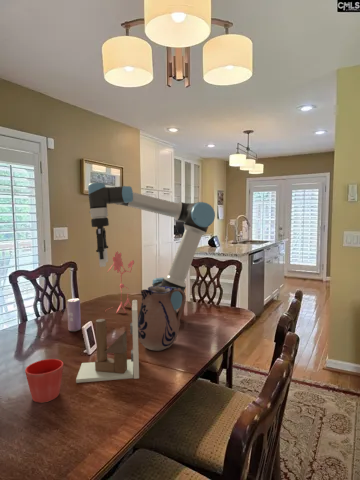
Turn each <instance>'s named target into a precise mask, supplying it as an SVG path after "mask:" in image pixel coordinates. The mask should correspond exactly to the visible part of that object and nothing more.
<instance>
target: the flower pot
mask: <svg viewBox="0 0 360 480" xmlns="http://www.w3.org/2000/svg"><path fill="white" fill-rule="evenodd" d="M63 371H64V362H63V361H62V360H60V359H58V358H47V359H41V360H38V361H35V362H33V363H30V364H29V365H27V366H26V367H25V370H24V373H25V377H26V380H27V384H28V389H29V392H30V395H31V397H32V401H33V402H35V403H38V404H39V403H42V404H43V403H48V402H50V401H53V400H55V399H56V398H58V396H60V390H61V386H62V380H63V379H62V378H63Z"/></svg>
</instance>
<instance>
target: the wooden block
mask: <svg viewBox="0 0 360 480" xmlns="http://www.w3.org/2000/svg"><path fill="white" fill-rule="evenodd" d="M107 338H108V337H107V319H105V318H98V319H96V320H95V341H96V342H95V343H96V360H95V361H94V362H95V371H101V372H112V373H114V372H115V373H122V374H123V373H125V371H126V370H127V360H128V355H127V353H128V349H127V347H128V345H127V330H125V331H123V333H122V334H121V335H120V336H119V337H117V339H116V340H115V341H114V342H113V343H112V344H111V345H110V346H109V347H108V342H107V341H108V340H107ZM108 353H109V354H113V358H112V357H111V358H110V357H108Z"/></svg>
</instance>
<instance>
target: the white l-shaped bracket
mask: <svg viewBox="0 0 360 480" xmlns="http://www.w3.org/2000/svg"><path fill="white" fill-rule="evenodd" d="M131 306H132V308H131V320H132V321H131V322H130V325H129V326H130V327H129V328H130V335H132V349H131V350H130V359H127V370H126V371H125V373H123V374H122V373H115V372H114V373H112V372H101V371H95V361H93V362H92V361H90V362H82V363H81V365H80V367H79V370H78V373H77V375H76V379H75V383H76V384H80V383H90V382H91V383H93V382H100V381H102V382H103V381H112V380H116V381H117V380H127V379H135V380H136V379H140V362H139V359H140V358H139V356H140V355H139V339H138V317H139V314H138V300H137V299H133V300H132V301H131Z"/></svg>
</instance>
